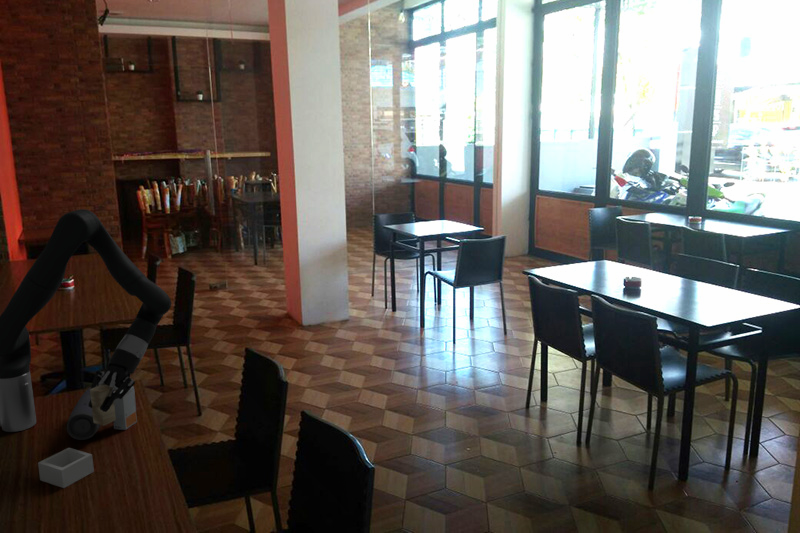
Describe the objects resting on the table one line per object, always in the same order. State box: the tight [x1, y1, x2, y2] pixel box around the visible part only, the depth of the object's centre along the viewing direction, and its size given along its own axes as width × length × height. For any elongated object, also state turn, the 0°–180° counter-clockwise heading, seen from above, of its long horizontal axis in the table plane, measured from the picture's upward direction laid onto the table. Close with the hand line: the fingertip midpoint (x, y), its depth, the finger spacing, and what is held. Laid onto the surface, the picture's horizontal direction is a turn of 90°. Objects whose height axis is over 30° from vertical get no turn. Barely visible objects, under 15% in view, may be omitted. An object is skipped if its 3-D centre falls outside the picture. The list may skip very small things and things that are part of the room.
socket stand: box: [37, 447, 95, 489], centre depth 167 cm, size 9×9×5 cm
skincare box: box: [112, 385, 138, 431], centre depth 195 cm, size 6×4×12 cm
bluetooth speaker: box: [66, 385, 102, 441], centre depth 194 cm, size 23×9×10 cm, turn 14°
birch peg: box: [90, 384, 116, 426], centre depth 176 cm, size 4×4×10 cm
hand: (97, 408), depth 174 cm, fingers closed on birch peg, 4 cm apart
